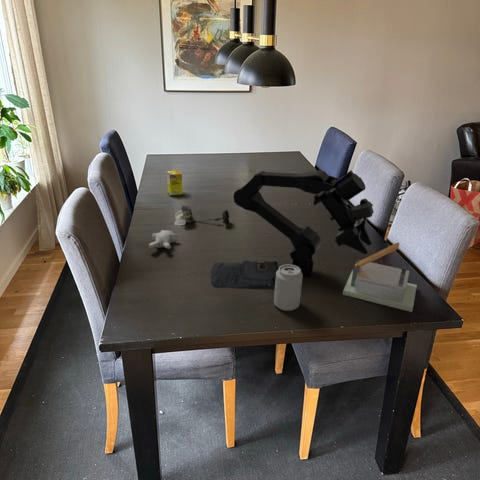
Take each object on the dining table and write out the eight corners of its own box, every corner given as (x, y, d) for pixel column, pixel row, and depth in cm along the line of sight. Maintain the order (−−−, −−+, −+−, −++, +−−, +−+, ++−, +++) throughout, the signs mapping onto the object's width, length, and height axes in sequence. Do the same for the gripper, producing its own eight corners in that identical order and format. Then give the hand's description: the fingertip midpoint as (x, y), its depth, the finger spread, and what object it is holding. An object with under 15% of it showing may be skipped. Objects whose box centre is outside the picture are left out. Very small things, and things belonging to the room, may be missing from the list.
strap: (355, 270, 132) (353, 267, 131) (357, 265, 134) (355, 262, 134) (398, 249, 123) (396, 246, 123) (400, 244, 126) (397, 241, 126)
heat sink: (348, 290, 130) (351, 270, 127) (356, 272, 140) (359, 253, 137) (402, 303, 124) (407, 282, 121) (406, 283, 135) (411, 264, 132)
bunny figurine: (180, 228, 162) (172, 240, 148) (180, 240, 164) (172, 254, 149) (155, 226, 162) (145, 239, 148) (155, 239, 164) (145, 253, 150)
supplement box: (182, 195, 205) (182, 173, 201) (170, 197, 203) (169, 174, 199) (179, 191, 210) (178, 170, 206) (167, 193, 208) (166, 171, 204)
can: (297, 298, 128) (301, 262, 123) (301, 312, 121) (305, 275, 116) (272, 297, 128) (274, 262, 123) (274, 312, 121) (277, 275, 116)
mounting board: (342, 294, 131) (343, 290, 130) (351, 274, 142) (352, 270, 142) (412, 312, 123) (413, 307, 123) (415, 288, 135) (416, 284, 134)
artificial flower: (227, 233, 172) (223, 213, 166) (174, 233, 176) (168, 214, 170) (231, 219, 179) (227, 199, 172) (179, 220, 183) (174, 200, 177)
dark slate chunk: (212, 265, 146) (212, 252, 144) (276, 266, 146) (277, 254, 144) (209, 289, 132) (209, 276, 130) (281, 290, 132) (282, 277, 130)
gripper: (352, 203, 116) (387, 248, 117) (365, 184, 131) (395, 224, 132) (320, 224, 122) (353, 267, 123) (336, 203, 138) (365, 242, 138)
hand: (368, 249), depth 129 cm, fingers open, 6 cm apart
